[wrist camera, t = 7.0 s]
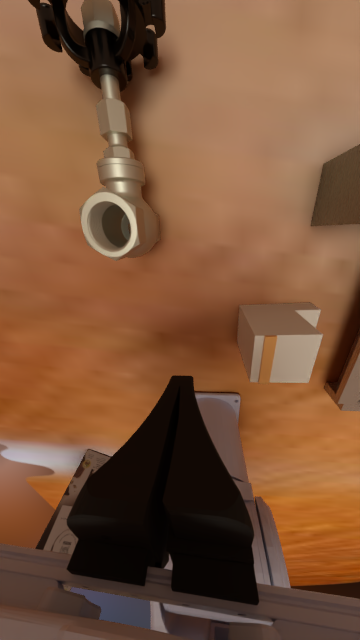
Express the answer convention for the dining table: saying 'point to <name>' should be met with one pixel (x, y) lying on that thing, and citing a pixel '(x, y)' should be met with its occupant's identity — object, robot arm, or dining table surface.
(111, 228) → the valve
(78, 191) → the dining table surface
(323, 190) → the rail
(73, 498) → the coffee box
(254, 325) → the block
